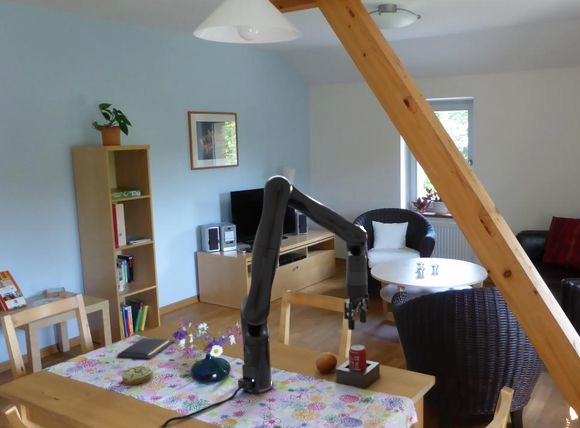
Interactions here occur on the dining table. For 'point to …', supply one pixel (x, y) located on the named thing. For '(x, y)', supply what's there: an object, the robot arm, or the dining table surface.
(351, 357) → the beverage can
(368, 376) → the can holder
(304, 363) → the dining table surface
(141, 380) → the decorated donut
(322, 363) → the fruit
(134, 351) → the dark grey book
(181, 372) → the dining table surface
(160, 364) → the dining table surface
